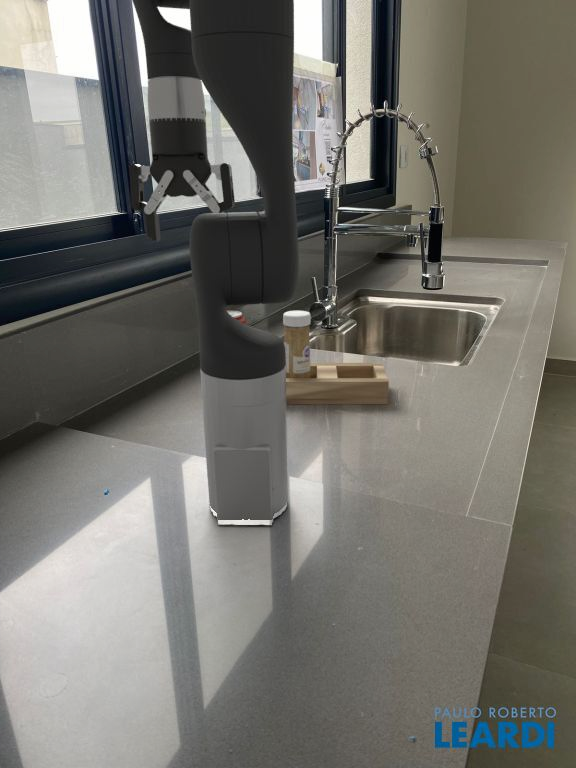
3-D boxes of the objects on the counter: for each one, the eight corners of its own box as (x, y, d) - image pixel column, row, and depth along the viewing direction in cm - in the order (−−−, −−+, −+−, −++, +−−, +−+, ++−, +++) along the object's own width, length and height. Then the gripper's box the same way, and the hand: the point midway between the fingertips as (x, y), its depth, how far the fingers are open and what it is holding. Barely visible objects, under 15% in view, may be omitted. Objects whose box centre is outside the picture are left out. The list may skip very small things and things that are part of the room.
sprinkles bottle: (306, 394, 103) (305, 316, 98) (280, 391, 104) (279, 314, 99) (313, 385, 107) (313, 310, 102) (289, 382, 108) (288, 308, 103)
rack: (387, 404, 100) (388, 381, 99) (267, 404, 101) (267, 381, 100) (381, 383, 110) (382, 362, 108) (271, 383, 111) (270, 363, 109)
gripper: (116, 116, 78) (129, 244, 83) (225, 114, 77) (231, 243, 83) (133, 121, 85) (144, 238, 90) (233, 119, 84) (238, 238, 90)
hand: (185, 241), depth 86 cm, fingers open, 8 cm apart
